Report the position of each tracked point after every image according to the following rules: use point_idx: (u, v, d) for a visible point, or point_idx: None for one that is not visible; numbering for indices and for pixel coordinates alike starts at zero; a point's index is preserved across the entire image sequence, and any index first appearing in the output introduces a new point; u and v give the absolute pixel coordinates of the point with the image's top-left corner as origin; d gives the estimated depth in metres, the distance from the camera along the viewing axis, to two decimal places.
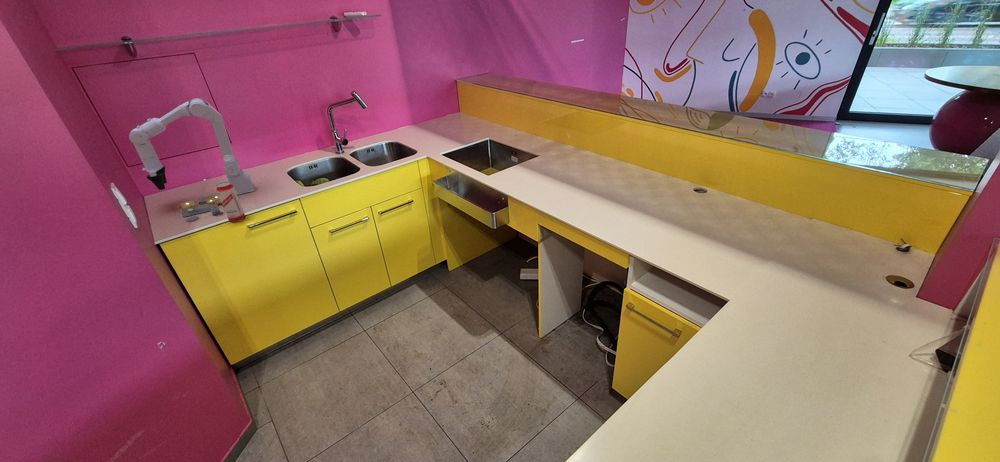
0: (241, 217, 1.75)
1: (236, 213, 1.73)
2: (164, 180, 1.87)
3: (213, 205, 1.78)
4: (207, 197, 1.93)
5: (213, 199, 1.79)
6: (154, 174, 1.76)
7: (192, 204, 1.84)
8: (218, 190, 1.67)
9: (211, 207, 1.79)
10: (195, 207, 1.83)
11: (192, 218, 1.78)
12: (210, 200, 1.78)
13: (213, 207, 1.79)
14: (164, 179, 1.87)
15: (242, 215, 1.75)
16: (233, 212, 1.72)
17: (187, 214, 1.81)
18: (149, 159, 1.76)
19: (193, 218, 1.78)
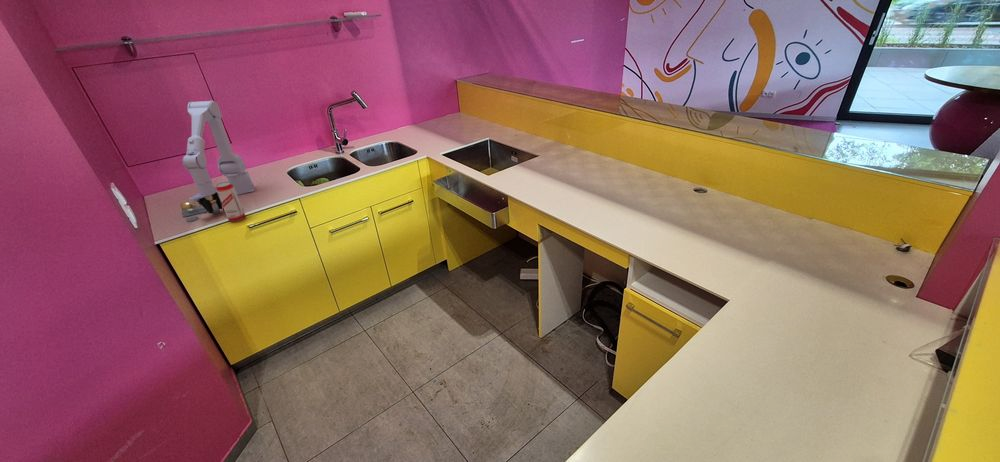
0: (241, 217, 1.75)
1: (236, 213, 1.73)
2: (219, 206, 1.82)
3: (213, 205, 1.78)
4: (207, 197, 1.93)
5: (213, 199, 1.79)
6: (192, 201, 1.71)
7: (192, 204, 1.84)
8: (218, 190, 1.67)
9: (211, 207, 1.79)
10: (195, 207, 1.83)
11: (192, 218, 1.78)
12: (210, 200, 1.78)
13: (213, 207, 1.79)
14: (219, 205, 1.81)
15: (242, 215, 1.75)
16: (233, 212, 1.72)
17: (187, 214, 1.81)
18: (197, 185, 1.72)
19: (193, 218, 1.78)
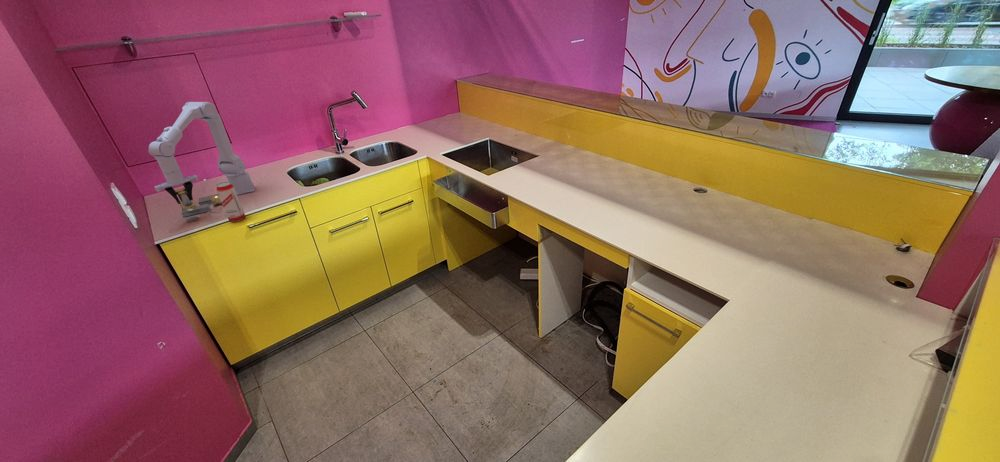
0: (241, 217, 1.75)
1: (236, 213, 1.73)
2: (189, 197, 1.74)
3: (182, 196, 1.71)
4: (207, 197, 1.93)
5: (182, 190, 1.71)
6: (156, 190, 1.65)
7: (192, 204, 1.84)
8: (218, 190, 1.67)
9: (180, 198, 1.72)
10: (195, 207, 1.83)
11: (192, 218, 1.78)
12: (179, 191, 1.71)
13: (183, 199, 1.72)
14: (189, 196, 1.74)
15: (242, 215, 1.75)
16: (233, 212, 1.72)
17: (187, 214, 1.81)
18: (164, 173, 1.65)
19: (193, 218, 1.78)
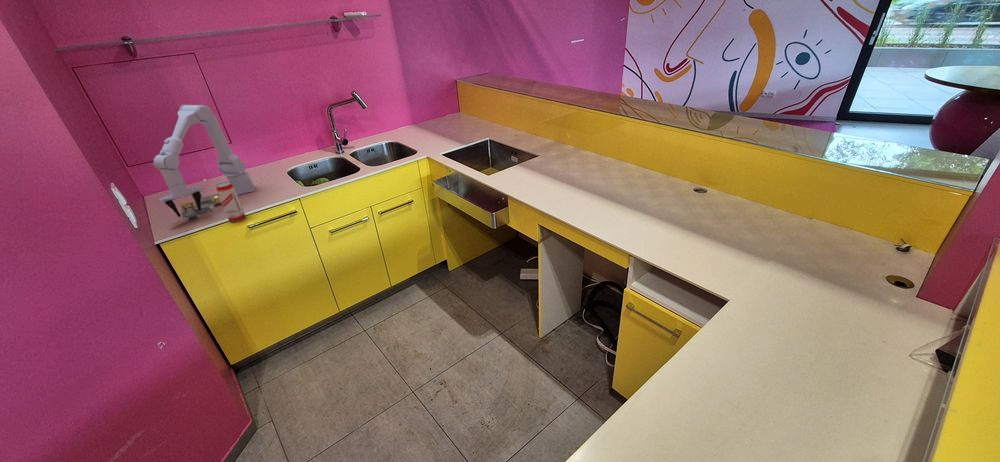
0: (241, 217, 1.75)
1: (236, 213, 1.73)
2: (198, 207, 1.78)
3: (188, 209, 1.74)
4: (207, 197, 1.93)
5: (189, 204, 1.75)
6: (161, 202, 1.68)
7: None
8: (218, 190, 1.67)
9: (186, 212, 1.75)
10: (195, 207, 1.83)
11: None
12: (185, 204, 1.74)
13: (188, 212, 1.75)
14: (198, 206, 1.77)
15: (242, 215, 1.75)
16: (233, 212, 1.72)
17: None
18: (168, 186, 1.68)
19: None
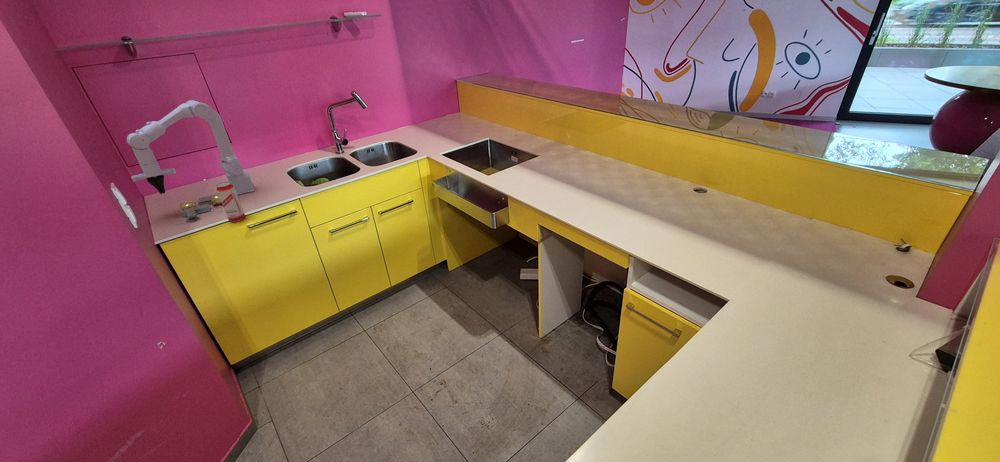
0: (241, 217, 1.75)
1: (236, 213, 1.73)
2: (161, 190, 1.77)
3: (188, 209, 1.74)
4: (207, 197, 1.93)
5: (189, 204, 1.75)
6: (132, 179, 1.70)
7: None
8: (218, 190, 1.67)
9: (186, 212, 1.75)
10: (195, 207, 1.83)
11: None
12: (185, 204, 1.74)
13: (188, 212, 1.75)
14: (161, 189, 1.76)
15: (242, 215, 1.75)
16: (233, 212, 1.72)
17: None
18: None
19: None
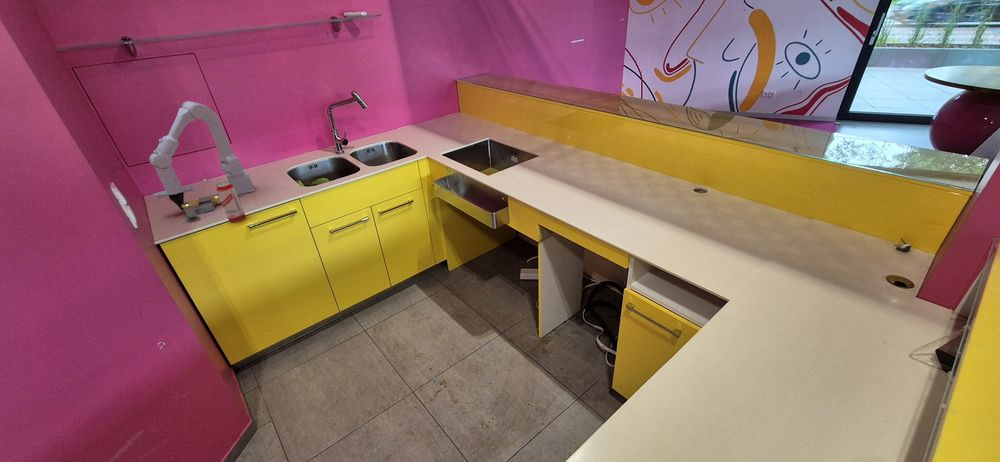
0: (241, 217, 1.75)
1: (236, 213, 1.73)
2: None
3: (188, 209, 1.74)
4: (207, 197, 1.93)
5: (189, 204, 1.75)
6: (155, 197, 1.77)
7: (196, 203, 1.84)
8: (218, 190, 1.67)
9: (186, 212, 1.75)
10: (199, 206, 1.84)
11: None
12: (185, 204, 1.74)
13: (188, 212, 1.75)
14: None
15: (242, 215, 1.75)
16: (233, 212, 1.72)
17: None
18: None
19: None
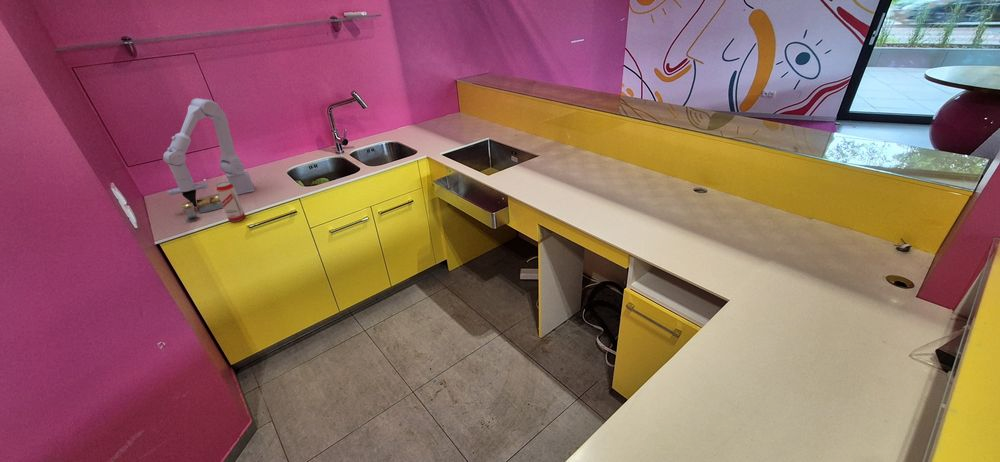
0: (241, 217, 1.75)
1: (236, 213, 1.73)
2: None
3: (188, 209, 1.74)
4: None
5: (189, 204, 1.75)
6: None
7: (208, 200, 1.86)
8: (218, 190, 1.67)
9: (186, 212, 1.75)
10: (211, 203, 1.86)
11: None
12: (185, 204, 1.74)
13: (188, 212, 1.75)
14: None
15: (242, 215, 1.75)
16: (233, 212, 1.72)
17: (204, 211, 1.83)
18: (176, 180, 1.78)
19: None
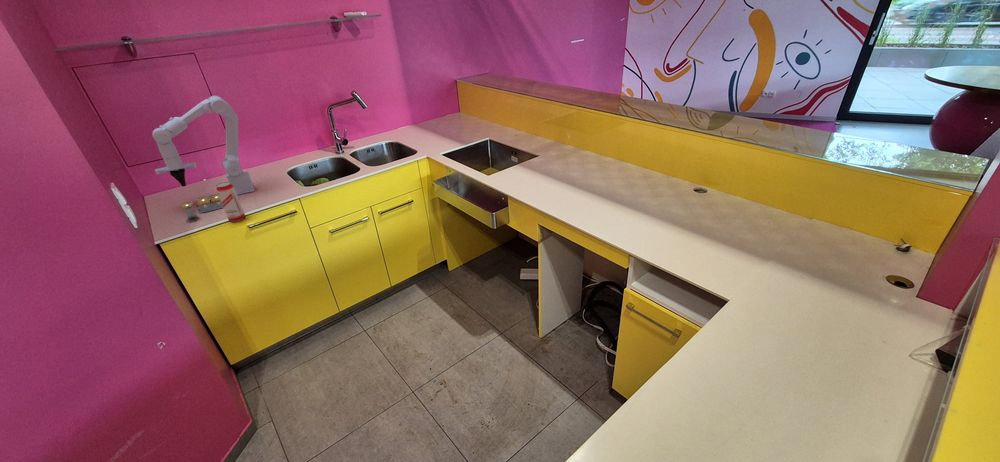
0: (241, 217, 1.75)
1: (236, 213, 1.73)
2: None
3: (188, 209, 1.74)
4: None
5: (189, 204, 1.75)
6: (156, 173, 1.79)
7: (208, 200, 1.86)
8: (218, 190, 1.67)
9: (186, 212, 1.75)
10: (211, 203, 1.86)
11: None
12: (185, 204, 1.74)
13: (188, 212, 1.75)
14: None
15: (242, 215, 1.75)
16: (233, 212, 1.72)
17: (204, 211, 1.83)
18: (163, 158, 1.79)
19: None
